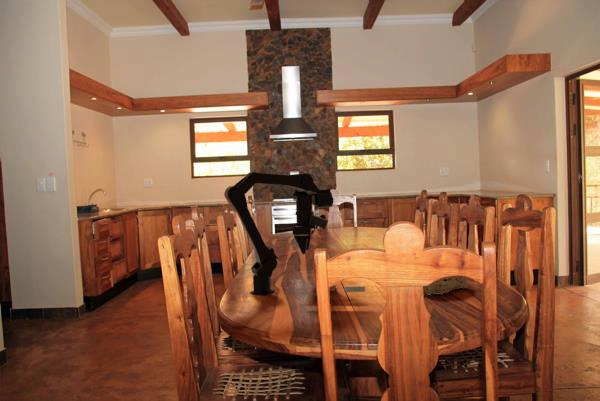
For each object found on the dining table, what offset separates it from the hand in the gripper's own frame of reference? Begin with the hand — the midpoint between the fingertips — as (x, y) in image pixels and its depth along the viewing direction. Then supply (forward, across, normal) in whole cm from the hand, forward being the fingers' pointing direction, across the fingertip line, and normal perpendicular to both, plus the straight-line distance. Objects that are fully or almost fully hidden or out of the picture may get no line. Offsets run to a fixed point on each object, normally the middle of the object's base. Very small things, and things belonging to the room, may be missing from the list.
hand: (305, 251), depth 167 cm
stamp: (+12, -7, -8) cm, 17 cm away
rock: (+14, -2, -46) cm, 48 cm away
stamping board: (+13, -7, -13) cm, 20 cm away
